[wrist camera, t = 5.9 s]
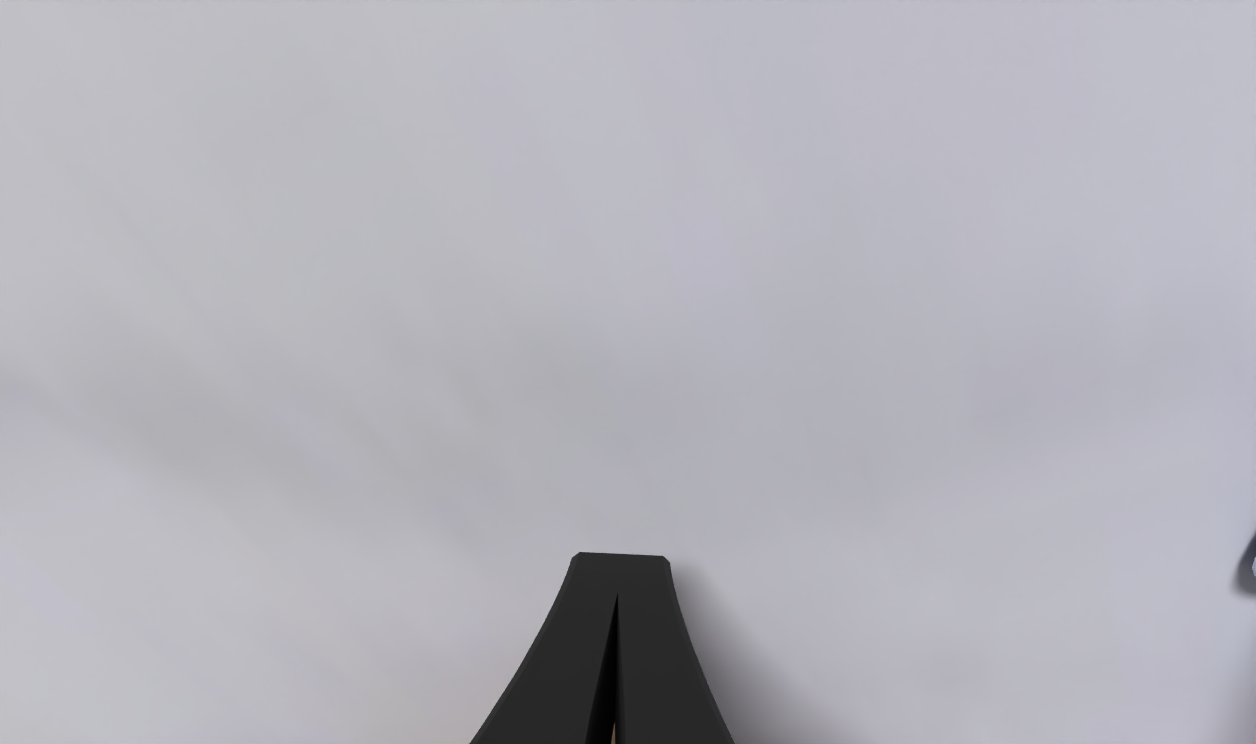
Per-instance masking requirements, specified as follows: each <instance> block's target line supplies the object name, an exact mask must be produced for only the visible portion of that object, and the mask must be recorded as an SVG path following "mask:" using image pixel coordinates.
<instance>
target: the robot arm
mask: <svg viewBox="0 0 1256 744" xmlns="http://www.w3.org/2000/svg"><path fill="white" fill-rule="evenodd" d="M1252 570H1253V573H1254V575H1255V576H1256V557H1255V559H1254V562H1253V565H1252ZM614 722H615V744H735V743H734V741H733V739H732V737H731V735H730V733H729V731H728V729H727V727H726V724H725V722H724V720H723V718H722V716H721V714H720V712H719V709H718V707H717V705H716V703H715V700H714V698H713V696H712V694H711V691H710V689H709V686H708V684H707V681H706V679H705V676H704V674H703V671H702V669H701V666H700V664H699V661H698V659H697V656H696V654H695V651H694V649H693V646H692V643H691V641H690V638H689V635H688V632H687V629H686V626H685V623H684V620H683V617H682V614H681V610H680V607H679V604H678V600H677V596H676V592H675V588H674V584H673V579H672V574H671V567H670V562H669V561H668V560H667V559H666V558H665V557H664V556H653V555H631V554H610V553H589V552H579V553H578V554H576V555H575V556H574V557H572V559H571V563H570V566H569V569H568V571H567V574H566V576H565V579H564V581H563V584H562V586H561V588H560V591H559V593H558V595H557V597H556V599H555V602H554V604H553V606H552V608H551V610H550V612H549V614H548V616H547V618H546V620H545V622H544V624H543V626H542V627H541V629H540V631H539V633H538V635H537V636H536V638H535V640H534V642H533V644H532V645H531V647H530V649H529V651H528V652H527V654H526V656H525V658H524V660H523V661H522V663H521V665H520V667H519V668H518V670H517V672H516V673H515V675H514V677H513V678H512V680H511V681H510V683H509V685H508V686H507V688H506V689H505V691H504V692H503V694H502V695H501V697H500V699H499V700H498V702H497V703H496V705H495V706H494V708H493V709H492V711H491V713H490V714H489V716H488V717H487V719H486V720H485V722H484V723H483V725H482V726H481V728H480V729H479V731H478V732H477V734H476V735H475V737H474V738H473V739H472V741H471V742H470V744H611V743H612V736H613V729H614Z"/></svg>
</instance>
